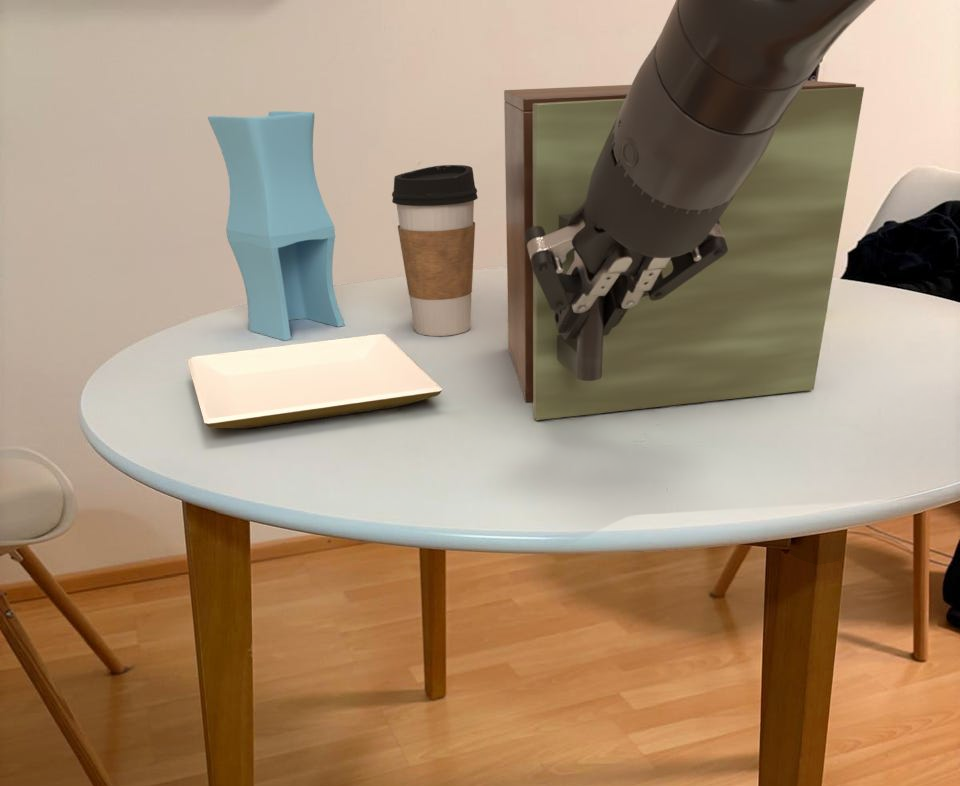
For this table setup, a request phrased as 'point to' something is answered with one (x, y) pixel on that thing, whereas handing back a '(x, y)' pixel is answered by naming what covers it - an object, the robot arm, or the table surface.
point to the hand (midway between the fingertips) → (581, 325)
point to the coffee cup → (437, 245)
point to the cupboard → (521, 207)
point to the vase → (278, 220)
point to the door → (716, 289)
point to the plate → (306, 381)
